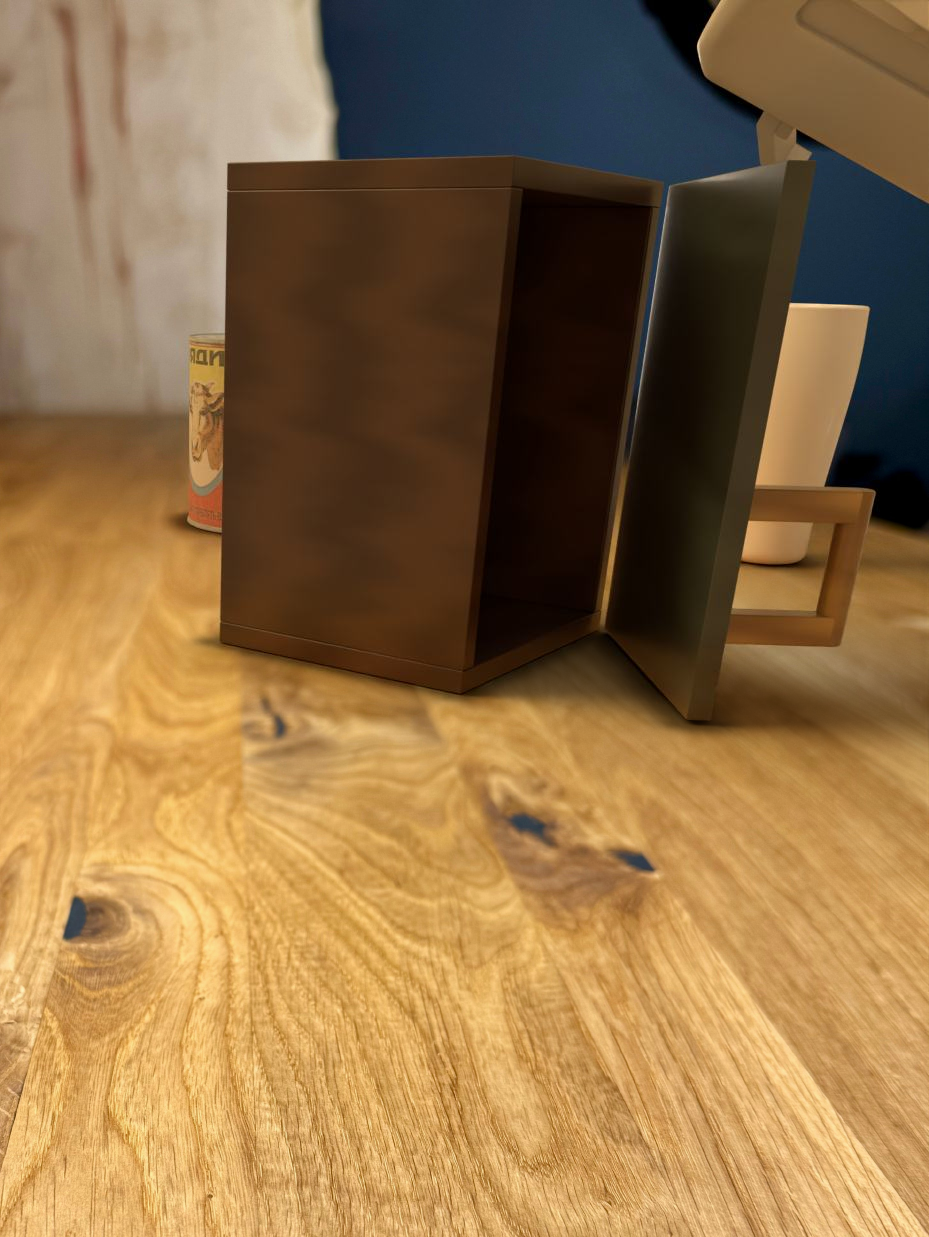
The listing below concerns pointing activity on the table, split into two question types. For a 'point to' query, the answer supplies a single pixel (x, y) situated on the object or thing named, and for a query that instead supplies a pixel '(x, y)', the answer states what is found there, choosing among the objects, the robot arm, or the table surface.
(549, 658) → the table surface
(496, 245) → the cupboard
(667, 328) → the cupboard door
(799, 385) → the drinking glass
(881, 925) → the table surface
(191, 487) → the canned food
